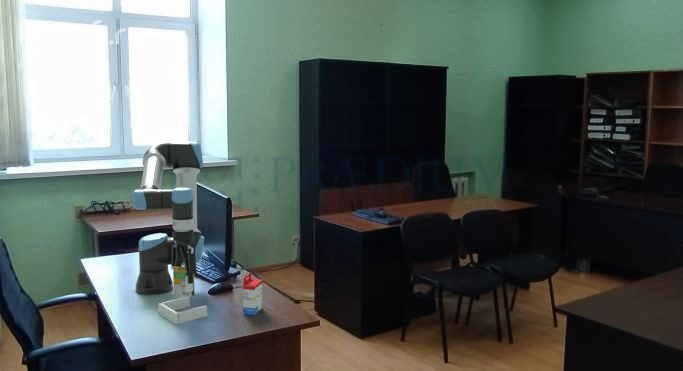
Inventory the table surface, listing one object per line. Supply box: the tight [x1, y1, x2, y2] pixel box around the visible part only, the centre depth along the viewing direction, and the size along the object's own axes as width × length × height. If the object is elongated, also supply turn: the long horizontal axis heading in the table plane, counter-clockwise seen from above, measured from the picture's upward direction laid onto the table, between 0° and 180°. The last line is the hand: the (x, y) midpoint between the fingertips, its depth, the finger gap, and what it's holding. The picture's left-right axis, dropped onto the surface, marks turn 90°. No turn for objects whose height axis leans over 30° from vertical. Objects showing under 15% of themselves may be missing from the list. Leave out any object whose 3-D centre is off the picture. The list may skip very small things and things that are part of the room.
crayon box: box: [172, 266, 196, 298], centre depth 218 cm, size 7×3×12 cm, turn 80°
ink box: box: [242, 271, 263, 316], centre depth 224 cm, size 8×5×15 cm, turn 168°
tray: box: [157, 296, 208, 325], centre depth 220 cm, size 14×12×4 cm
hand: (184, 288), depth 219 cm, fingers closed on crayon box, 7 cm apart
